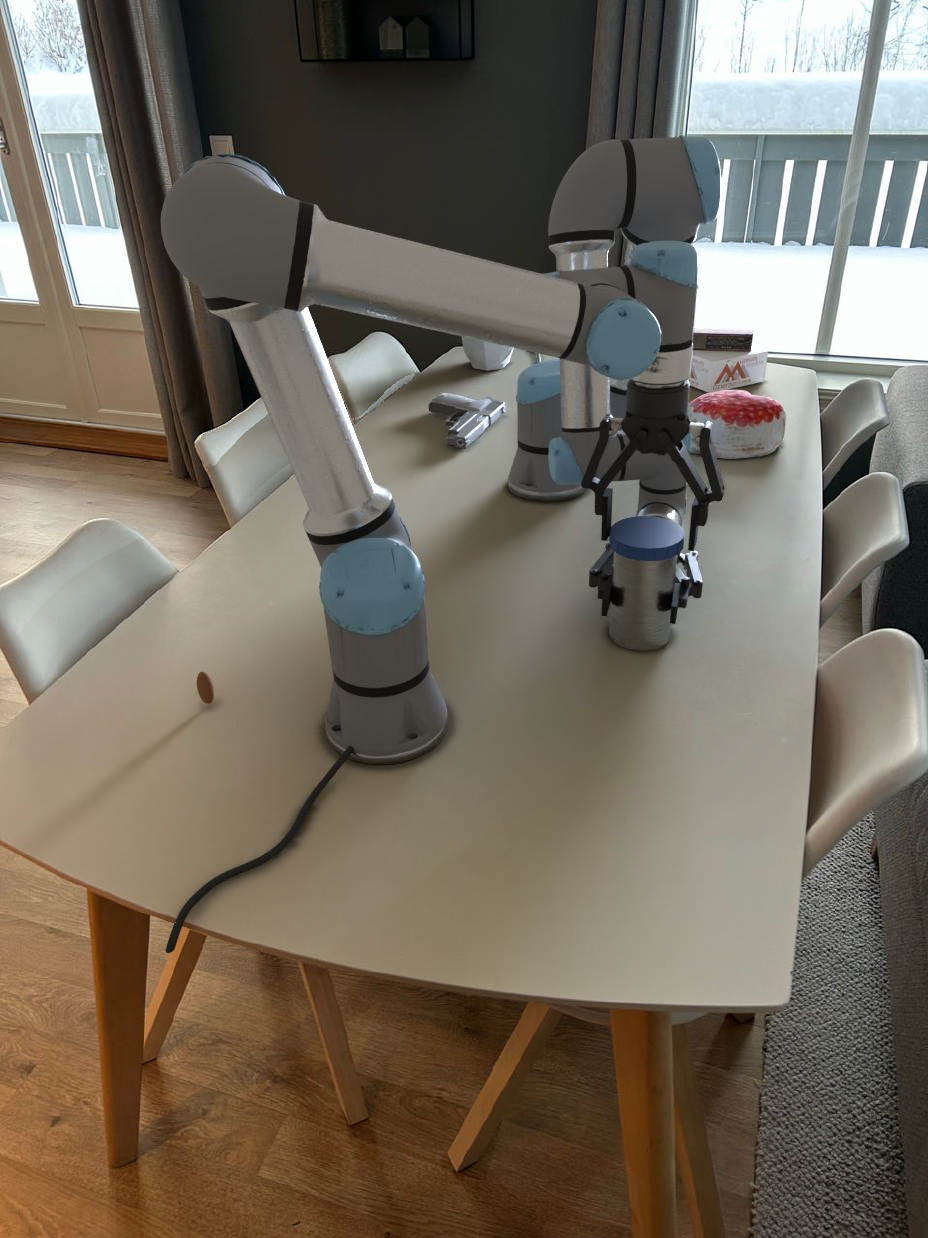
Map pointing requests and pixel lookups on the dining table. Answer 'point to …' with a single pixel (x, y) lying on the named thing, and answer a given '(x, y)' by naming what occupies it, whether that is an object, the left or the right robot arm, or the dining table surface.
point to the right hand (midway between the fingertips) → (638, 611)
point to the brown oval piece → (205, 687)
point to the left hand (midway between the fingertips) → (648, 541)
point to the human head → (486, 354)
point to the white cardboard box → (725, 360)
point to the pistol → (466, 416)
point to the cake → (739, 423)
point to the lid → (646, 538)
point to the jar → (641, 602)
